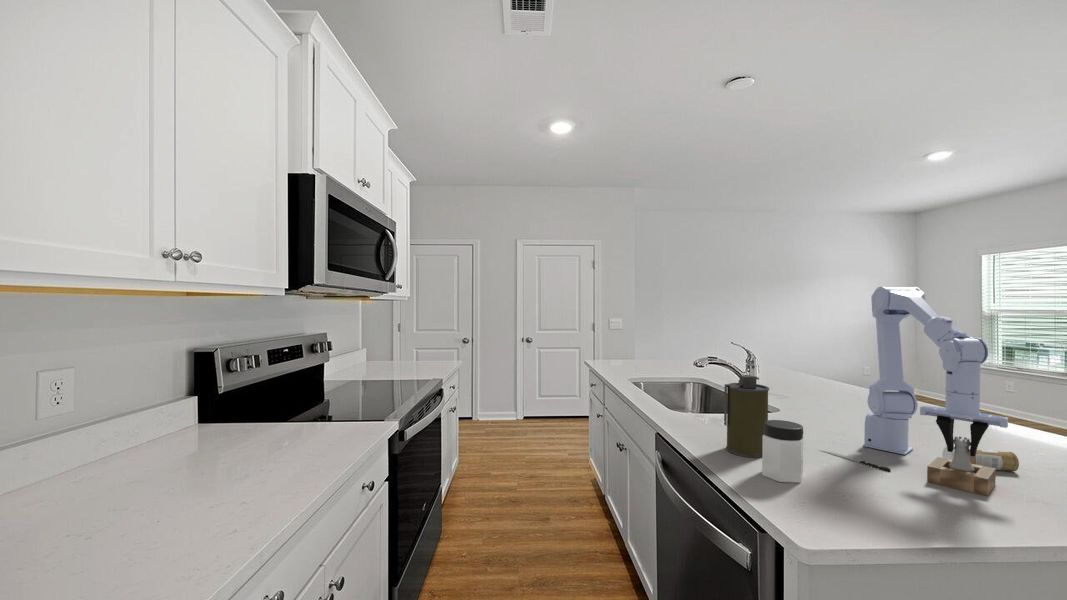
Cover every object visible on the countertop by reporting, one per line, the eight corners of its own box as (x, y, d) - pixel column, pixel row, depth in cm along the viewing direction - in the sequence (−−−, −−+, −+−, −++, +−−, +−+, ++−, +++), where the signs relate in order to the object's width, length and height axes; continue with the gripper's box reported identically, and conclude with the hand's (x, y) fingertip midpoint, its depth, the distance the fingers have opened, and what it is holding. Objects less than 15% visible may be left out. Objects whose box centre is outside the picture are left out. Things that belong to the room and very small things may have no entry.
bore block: (927, 481, 109) (927, 466, 109) (937, 471, 115) (937, 456, 115) (987, 496, 101) (988, 479, 101) (995, 484, 107) (995, 468, 107)
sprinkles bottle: (1010, 447, 117) (944, 442, 120) (1022, 461, 113) (953, 455, 116) (1005, 462, 118) (939, 456, 122) (1016, 476, 114) (948, 470, 118)
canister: (760, 446, 134) (760, 373, 134) (775, 458, 123) (776, 380, 123) (719, 444, 135) (720, 372, 135) (731, 456, 125) (731, 379, 124)
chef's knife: (820, 449, 133) (813, 450, 132) (820, 445, 133) (813, 446, 132) (897, 472, 116) (889, 473, 114) (897, 467, 116) (889, 468, 114)
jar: (812, 480, 109) (813, 427, 109) (788, 486, 106) (788, 431, 105) (777, 467, 117) (777, 417, 117) (753, 472, 114) (754, 421, 114)
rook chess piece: (942, 470, 110) (943, 435, 110) (960, 469, 111) (960, 434, 110) (962, 478, 106) (963, 442, 105) (980, 476, 106) (981, 440, 106)
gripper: (916, 389, 111) (916, 448, 111) (1005, 400, 100) (1004, 465, 100) (924, 385, 115) (923, 442, 115) (1009, 395, 104) (1008, 458, 104)
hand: (961, 453), depth 108 cm, fingers closed on rook chess piece, 3 cm apart
